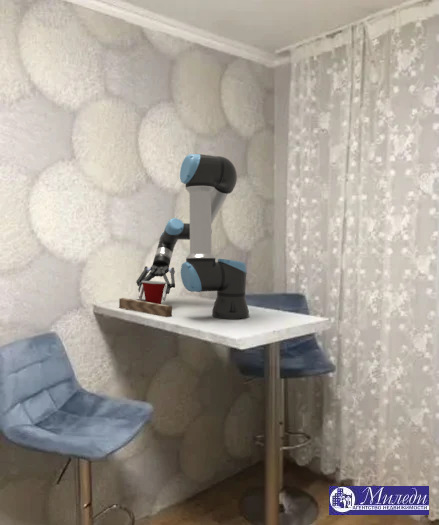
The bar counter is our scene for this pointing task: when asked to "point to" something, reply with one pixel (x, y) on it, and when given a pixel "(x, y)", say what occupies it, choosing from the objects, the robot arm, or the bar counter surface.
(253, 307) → the bar counter surface
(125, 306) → the rail
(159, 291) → the plastic cup
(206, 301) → the bar counter surface
